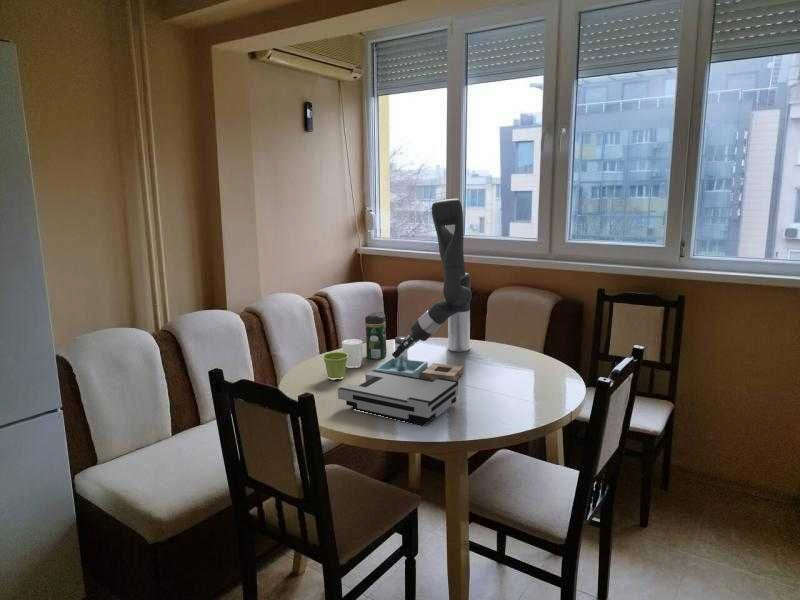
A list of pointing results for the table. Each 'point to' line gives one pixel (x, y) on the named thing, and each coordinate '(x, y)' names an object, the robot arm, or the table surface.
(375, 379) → the game console
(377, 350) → the coffee jar
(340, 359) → the plant pot
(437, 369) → the brown square frame
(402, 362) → the bottle with dark cap
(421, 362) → the parts tray
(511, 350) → the table surface
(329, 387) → the table surface
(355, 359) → the white cup
